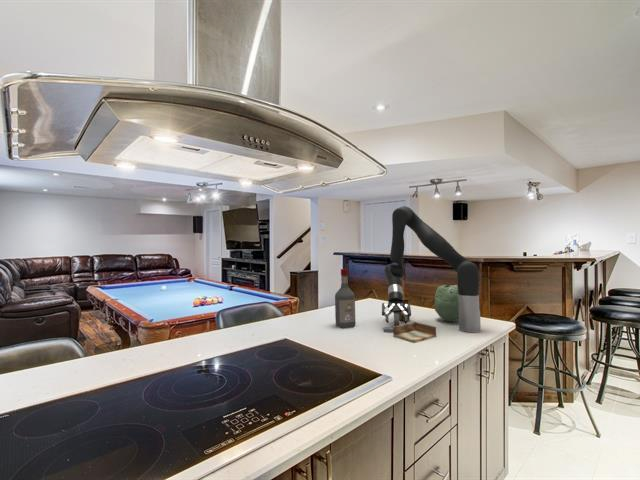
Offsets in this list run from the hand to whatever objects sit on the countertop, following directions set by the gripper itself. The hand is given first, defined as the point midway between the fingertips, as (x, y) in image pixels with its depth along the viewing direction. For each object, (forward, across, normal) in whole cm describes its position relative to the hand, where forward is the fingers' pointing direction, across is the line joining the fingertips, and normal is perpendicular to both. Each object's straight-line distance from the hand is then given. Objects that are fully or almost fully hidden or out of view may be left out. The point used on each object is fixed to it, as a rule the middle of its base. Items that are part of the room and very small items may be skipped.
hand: (396, 322), depth 157 cm
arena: (+8, +8, -2) cm, 11 cm away
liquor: (-3, -26, +10) cm, 28 cm away
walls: (+8, +8, -2) cm, 11 cm away
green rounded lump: (-15, +29, +22) cm, 39 cm away
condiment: (-14, +5, +21) cm, 26 cm away
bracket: (+2, -2, +4) cm, 6 cm away
